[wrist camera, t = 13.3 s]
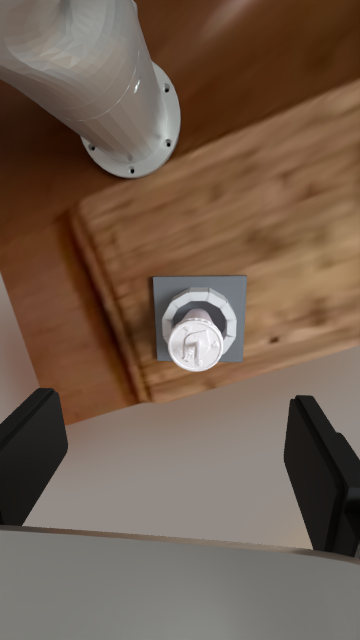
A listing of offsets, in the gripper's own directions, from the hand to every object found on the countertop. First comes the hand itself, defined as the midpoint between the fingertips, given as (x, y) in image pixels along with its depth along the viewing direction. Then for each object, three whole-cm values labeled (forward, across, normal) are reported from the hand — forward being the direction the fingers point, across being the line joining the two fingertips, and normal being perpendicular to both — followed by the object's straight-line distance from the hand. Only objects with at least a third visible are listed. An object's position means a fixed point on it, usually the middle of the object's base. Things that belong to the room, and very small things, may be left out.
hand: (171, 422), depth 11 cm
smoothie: (+29, 0, +5) cm, 30 cm away
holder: (+30, 0, +6) cm, 31 cm away
